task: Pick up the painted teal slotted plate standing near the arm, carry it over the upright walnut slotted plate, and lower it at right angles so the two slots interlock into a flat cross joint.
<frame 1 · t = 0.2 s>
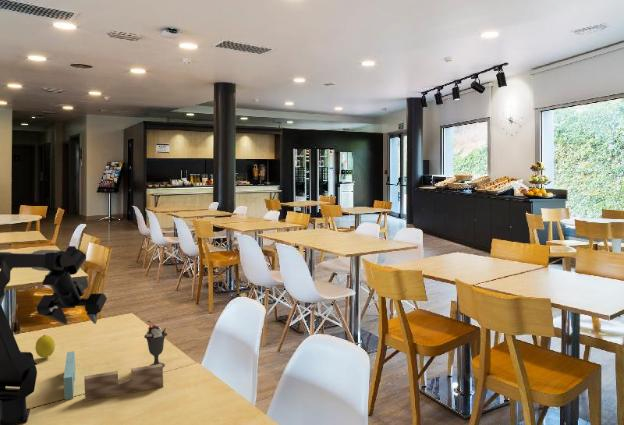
hand: (80, 323, 147), 14 cm above the table, tool tilted 30°, fingers open, 9 cm apart
sundae: (156, 367, 150), on the table
lemon: (46, 359, 157), on the table
teal slotted plate: (70, 383, 138), on the table
walnut slotted plate: (125, 392, 133), on the table
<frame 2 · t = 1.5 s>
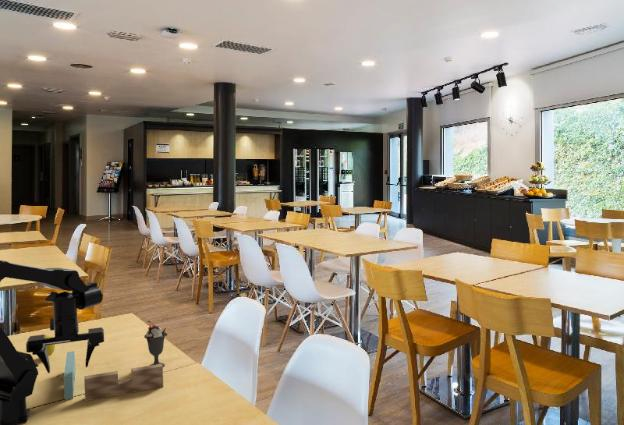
hand: (68, 369, 132), 6 cm above the table, tool pointing down, fingers open, 9 cm apart
nothing on the table moved.
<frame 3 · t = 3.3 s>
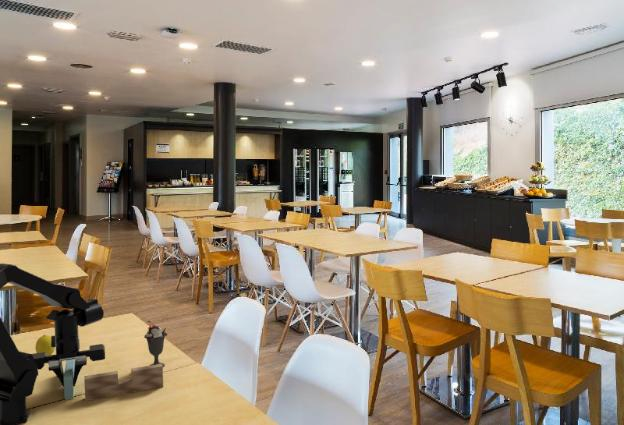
hand: (69, 386, 133), 2 cm above the table, tool pointing down, fingers closed on teal slotted plate, 2 cm apart
teal slotted plate: (70, 383, 138), on the table, touching gripper
everything else where it was.
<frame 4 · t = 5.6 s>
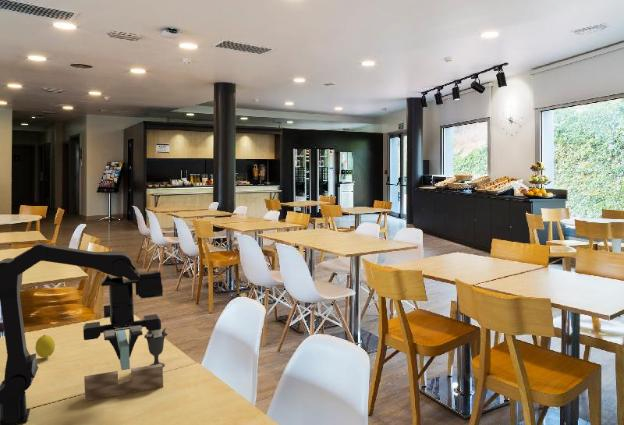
hand: (124, 358, 127), 12 cm above the table, tool pointing down, fingers closed on teal slotted plate
teal slotted plate: (123, 356, 132), point 10 cm above the table, touching gripper
everything else where it was.
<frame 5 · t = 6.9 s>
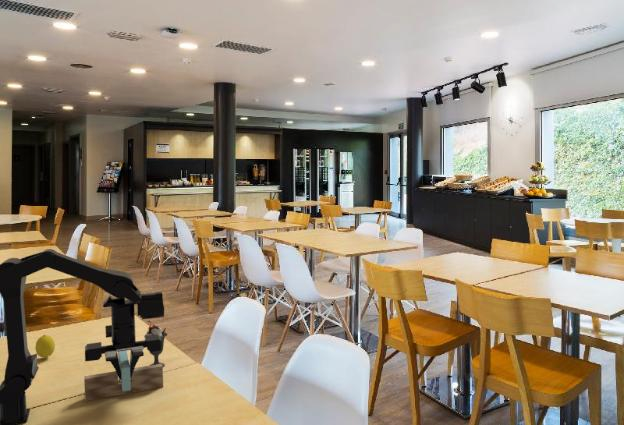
hand: (125, 378, 127), 6 cm above the table, tool pointing down, fingers closed on teal slotted plate
teal slotted plate: (124, 376, 133), point 5 cm above the table, touching gripper
everything else where it was.
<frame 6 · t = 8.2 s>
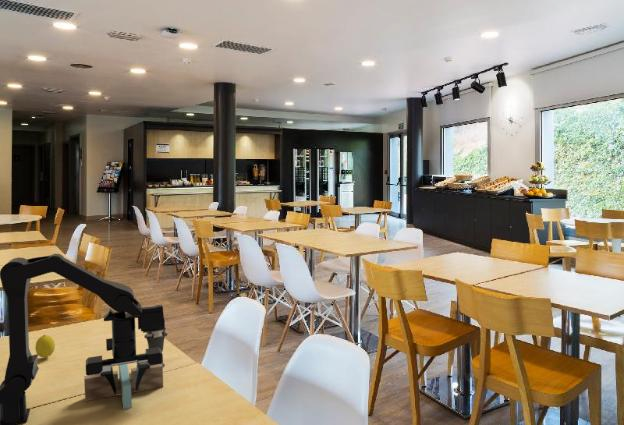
hand: (126, 391, 128), 2 cm above the table, tool pointing down, fingers open, 5 cm apart
teal slotted plate: (125, 392, 133), on the table, touching walnut slotted plate
everything else where it was.
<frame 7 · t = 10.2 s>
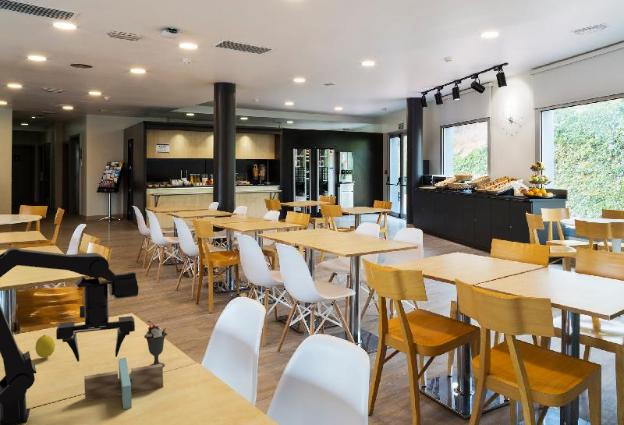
hand: (97, 358, 128), 11 cm above the table, tool pointing down, fingers open, 9 cm apart
nothing on the table moved.
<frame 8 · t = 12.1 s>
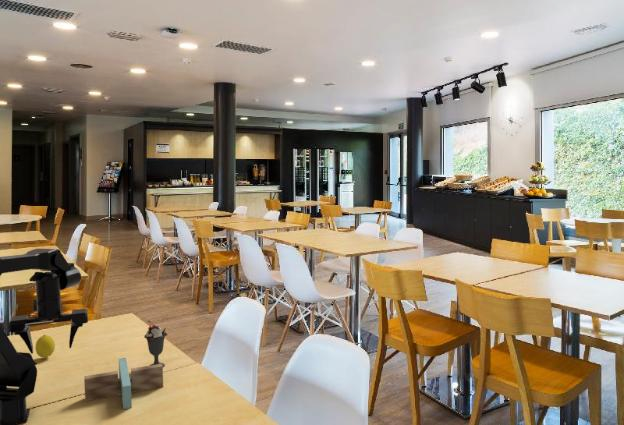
hand: (51, 350, 132), 12 cm above the table, tool pointing down, fingers open, 9 cm apart
nothing on the table moved.
at the end: teal slotted plate 0.0 cm off-centre on the walnut slotted plate, point 0.0 cm above the walnut slotted plate's base; teal slotted plate tilted 0°; the gripper is holding nothing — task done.
